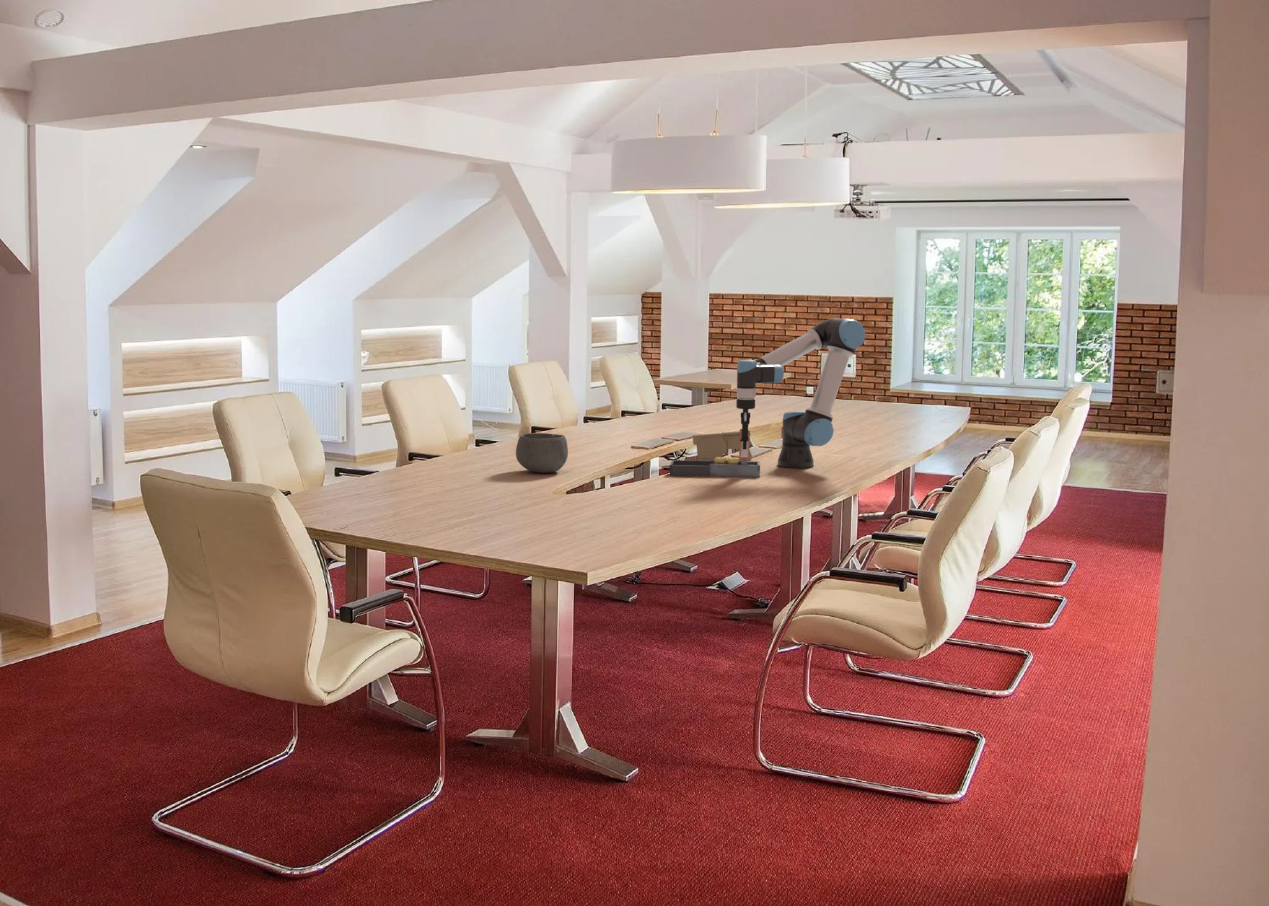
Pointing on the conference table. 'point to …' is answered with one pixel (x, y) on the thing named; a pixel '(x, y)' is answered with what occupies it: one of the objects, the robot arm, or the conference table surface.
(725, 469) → the rail
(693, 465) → the tray
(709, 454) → the gun
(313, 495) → the conference table surface
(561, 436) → the bowl
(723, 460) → the tan wooden cube
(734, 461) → the tan cube
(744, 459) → the salmon pink rectangular prism
